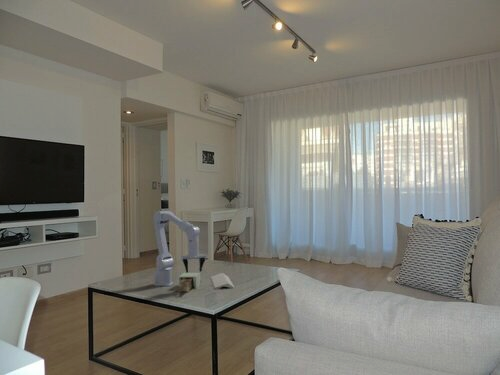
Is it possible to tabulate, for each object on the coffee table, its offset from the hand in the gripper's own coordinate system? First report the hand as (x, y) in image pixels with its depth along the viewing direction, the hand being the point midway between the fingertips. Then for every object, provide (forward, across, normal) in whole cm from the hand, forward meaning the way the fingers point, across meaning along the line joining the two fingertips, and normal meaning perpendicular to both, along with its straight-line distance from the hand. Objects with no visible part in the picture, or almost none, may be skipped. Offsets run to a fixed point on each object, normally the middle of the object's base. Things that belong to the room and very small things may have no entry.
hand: (193, 271), depth 201 cm
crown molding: (+11, +19, +9) cm, 23 cm away
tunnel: (+10, -1, +7) cm, 12 cm away
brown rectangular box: (+10, -4, 0) cm, 10 cm away
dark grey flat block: (+10, +3, +15) cm, 18 cm away
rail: (+10, -4, 0) cm, 11 cm away
